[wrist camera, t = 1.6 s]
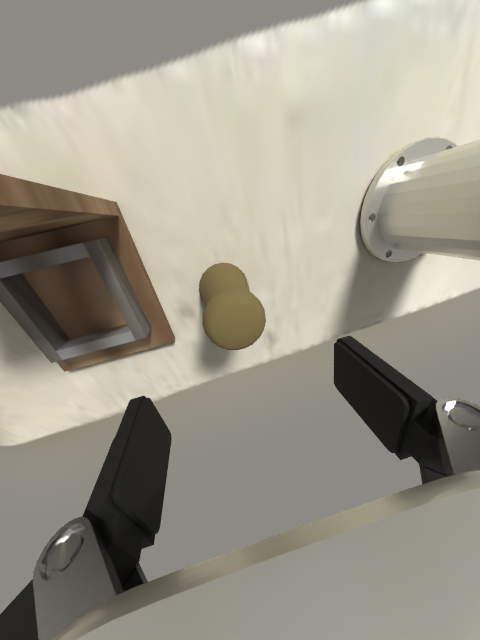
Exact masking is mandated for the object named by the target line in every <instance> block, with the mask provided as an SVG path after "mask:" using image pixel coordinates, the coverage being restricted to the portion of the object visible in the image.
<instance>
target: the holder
mask: <svg viewBox="0 0 480 640" xmlns="http://www.w3.org/2000/svg"><path fill="white" fill-rule="evenodd" d="M0 302H1V303H2V304H3V305H4V307H5V308H6V309H7V310H8V311H9V313H10V314H11V315H12V316H13V317H14V319H15V320H16V321H17V322H18V323H19V325H20V326H21V327H22V328H23V329H24V331H25V332H26V333H27V334H28V335H29V337H30V338H31V339H32V340H33V341H34V343H35V344H36V345H37V346H38V347H39V349H40V350H41V351H42V352H43V353H44V355H45V356H46V357H47V358H48V359H49V361H50V362H51V363H53V362H57V363H58V364H59V365H60V367H61V368H62V369H63V370H64V372H65V371H68V370H72V369H76V368H80V367H83V366H87V365H91V364H94V363H98V362H102V361H105V360H109V359H113V358H116V357H120V356H124V355H128V354H131V353H135V352H139V351H142V350H146V349H150V348H153V347H157V346H161V345H164V344H168V343H172V342H174V340H175V337H174V334H173V332H172V330H171V327H170V325H169V323H168V320H167V318H166V316H165V314H164V311H163V309H162V307H161V304H160V302H159V300H158V297H157V295H156V293H155V290H154V288H153V286H152V283H151V281H150V279H149V276H148V274H147V272H146V270H145V267H144V265H143V263H142V260H141V258H140V256H139V253H138V251H137V249H136V246H135V244H134V242H133V239H132V237H131V235H130V232H129V230H128V228H127V226H126V223H125V221H124V219H123V216H122V214H121V212H120V209H119V207H118V205H117V202H114V201H109V200H105V199H101V198H97V197H93V196H89V195H85V194H80V193H76V192H72V191H68V190H64V189H60V188H56V187H51V186H47V185H43V184H39V183H35V182H31V181H27V180H22V179H18V178H14V177H10V176H6V175H2V174H0Z"/></svg>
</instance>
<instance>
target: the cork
mask: <svg viewBox="0 0 480 640" xmlns="http://www.w3.org/2000/svg"><path fill="white" fill-rule="evenodd" d="M199 290H200V294H201V297H202V300H203V302H204V304H205V309H204V312H203V326H204V329H205V333H206V334H207V336H208V337H209V338H210V340H211V341H212V342H213V343H214V344H216V345H217V346H219V347H221V348H225V349H228V350H240V349H244V348H246V347H248V346H250V345H252V344H253V343H254V342H255V341H256V340H257V339H258V338H259V337H260V336H261V334H262V332H263V330H264V327H265V322H266V319H265V311H264V308H263V306H262V304H261V302H260V301H259V299H258V298H256V297H255V296H254V295H253V294H252V293H250V291H249V287H248V283H247V279H246V277H245V275H244V273H243V272H242V271H241V270H240V269H239V268H238V267H236V266H234V265H232V264H228V263H220V264H215V265H213V266H211V267H210V268H208V269H207V270H206V271H205V272H204V274H203V275H202V277H201V280H200V285H199Z"/></svg>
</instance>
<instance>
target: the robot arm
mask: <svg viewBox="0 0 480 640" xmlns="http://www.w3.org/2000/svg"><path fill="white" fill-rule="evenodd" d="M360 227H361V235H362V239H363V242H364V244H365V246H366V248H367V249H368V251H369V252H370V253H371V254H372V255H374V256H375V257H377V258H378V259H381V260H385V261H390V262H402V261H406V260H410V259H412V258H414V257H417V256H419V255H420V254H422V253H429V254H436V255H443V256H451V257H458V258H465V259H473V260H480V140H477V141H474V142H471V143H467V144H464V145H461V146H457V145H456V144H455V143H453V142H452V141H450V140H448V139H446V138H441V137H430V138H425V139H422V140H419V141H416V142H414V143H412V144H410V145H408V146H405V147H404V148H402V149H401V150H399V151H398V152H397V153H395V154H394V155H393V156H392V157H391V158H390V159H389V160H388V161H387V162H386V163H385V164H384V165H383V166H382V168H381V169H380V170H379V172H378V173H377V174H376V176H375V178H374V179H373V181H372V183H371V185H370V186H369V189H368V191H367V194H366V196H365V199H364V202H363V206H362V210H361V219H360ZM334 384H335V386H336V388H337V389H338V391H339V392H340V393H341V394H342V395H343V397H344V398H345V399H346V400H347V401H348V403H349V404H350V405H351V406H352V407H353V409H354V410H355V411H356V412H357V413H358V415H359V416H360V417H361V418H362V419H363V421H364V422H365V423H366V424H367V425H368V427H369V428H370V429H371V430H372V431H373V433H374V434H375V435H376V436H377V437H378V439H379V440H380V441H381V442H382V443H383V445H384V446H385V447H386V448H387V449H388V450H389V451H390V452H391V453H395V454H396V455H397V456H398V458H399V459H400V460H402V459H405V458H408V457H411V456H412V457H413V458H414V459H415V460H416V461H417V462H418V463H419V467H420V473H421V479H422V485H419V486H416V487H413V488H410V489H407V490H404V491H400V492H398V493H395V494H392V495H389V496H386V497H383V498H380V499H378V500H375V501H372V502H369V503H366V504H363V505H360V506H357V507H355V508H352V509H349V510H346V511H343V512H340V513H337V514H335V515H332V516H329V517H326V518H323V519H320V520H317V521H315V522H312V523H309V524H306V525H303V526H301V527H298V528H295V529H292V530H289V531H286V532H284V533H281V534H278V535H275V536H273V537H270V538H267V539H264V540H261V541H259V542H256V543H253V544H250V545H247V546H244V547H242V548H239V549H236V550H233V551H231V552H228V553H225V554H222V555H219V556H217V557H214V558H211V559H209V560H206V561H203V562H200V563H197V564H195V565H192V566H189V567H186V568H183V569H181V570H178V571H176V572H173V573H170V574H168V575H165V576H163V577H160V578H157V579H155V580H152V581H150V582H148V581H147V579H146V577H145V575H144V572H143V570H142V568H141V566H140V564H139V559H140V554H141V549H143V548H145V547H149V546H151V545H154V539H155V534H156V533H158V531H159V528H160V522H161V515H162V507H163V500H164V492H165V484H166V477H167V469H168V462H169V454H170V446H171V433H170V431H169V429H168V427H167V426H166V424H165V422H164V421H163V419H162V417H161V416H160V414H159V412H158V411H157V409H156V407H155V406H154V404H153V402H152V401H151V399H150V398H146V397H145V396H141V397H138V398H134V399H131V400H130V402H129V404H128V406H127V409H126V411H125V414H124V416H123V419H122V421H121V424H120V427H119V429H118V432H117V434H116V436H115V438H114V440H113V442H112V444H111V447H110V449H109V452H108V455H107V457H106V460H105V462H104V464H103V467H102V469H101V472H100V474H99V477H98V479H97V482H96V484H95V487H94V489H93V492H92V494H91V497H90V500H89V502H88V504H87V507H86V509H85V512H84V515H83V517H78V518H75V519H73V520H71V521H69V522H68V523H66V524H65V525H64V526H63V527H61V528H60V529H59V530H58V531H57V532H56V534H55V535H54V536H53V537H52V538H51V539H50V541H49V542H48V543H47V545H46V546H45V547H44V549H43V551H42V553H41V554H40V556H39V558H38V560H37V563H36V566H35V569H34V572H33V579H32V580H31V582H30V583H29V584H28V585H27V586H26V587H25V588H24V589H23V590H22V592H20V594H19V595H18V596H17V597H16V598H15V599H14V600H13V601H12V602H11V603H10V604H9V605H8V607H7V608H6V609H5V610H4V611H3V612H2V613H1V614H0V640H480V406H478V405H476V404H474V403H471V402H469V401H466V400H462V399H459V398H443V399H441V400H439V401H437V400H435V399H434V398H433V397H432V396H431V395H429V394H428V393H427V392H425V391H424V390H422V389H421V388H420V387H419V386H417V385H416V384H414V383H413V382H412V381H410V380H409V379H407V378H406V377H405V376H404V375H402V374H401V373H400V372H398V371H397V370H395V369H394V368H393V367H392V366H390V365H389V364H387V363H386V362H385V361H383V360H382V359H380V358H379V357H378V356H377V355H375V354H374V353H373V352H371V351H370V350H369V349H367V348H366V347H365V346H363V345H362V344H361V343H359V342H358V341H357V340H355V339H354V338H352V337H351V336H347V337H343V338H340V339H338V340H337V342H336V343H335V344H334Z"/></svg>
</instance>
